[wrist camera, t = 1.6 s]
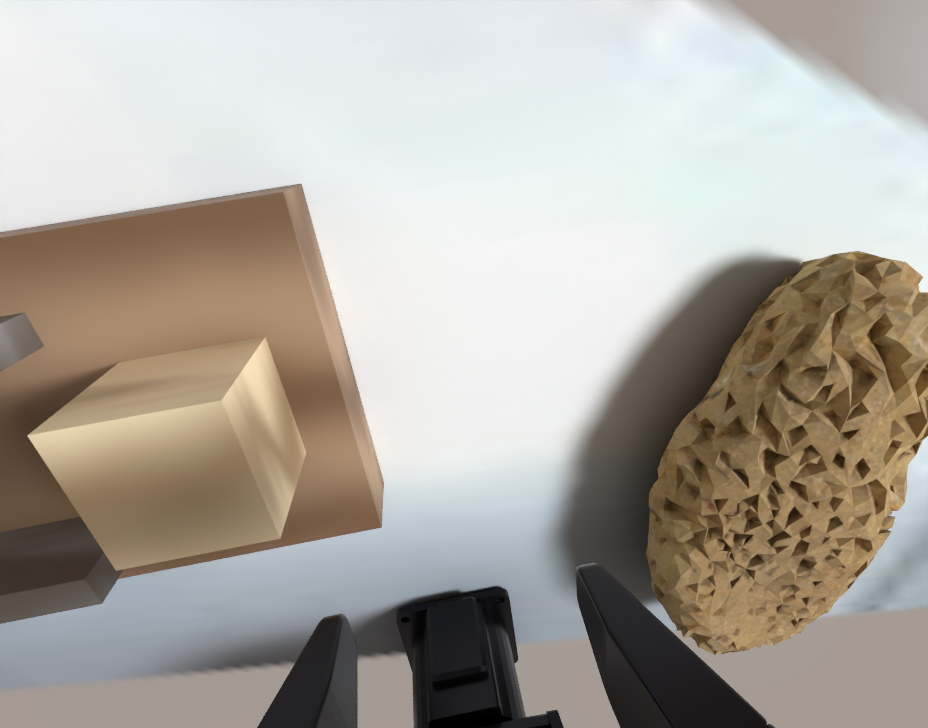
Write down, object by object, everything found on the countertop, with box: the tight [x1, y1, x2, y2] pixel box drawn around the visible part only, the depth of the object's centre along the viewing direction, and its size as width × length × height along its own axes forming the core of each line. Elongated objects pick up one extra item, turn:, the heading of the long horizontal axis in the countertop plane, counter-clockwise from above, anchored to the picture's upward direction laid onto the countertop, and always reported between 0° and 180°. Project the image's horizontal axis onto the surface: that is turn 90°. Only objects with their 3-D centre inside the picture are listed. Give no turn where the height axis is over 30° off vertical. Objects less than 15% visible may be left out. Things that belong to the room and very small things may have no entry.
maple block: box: [27, 337, 306, 571], centre depth 16 cm, size 5×5×4 cm
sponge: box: [646, 251, 928, 655], centre depth 23 cm, size 13×8×20 cm
